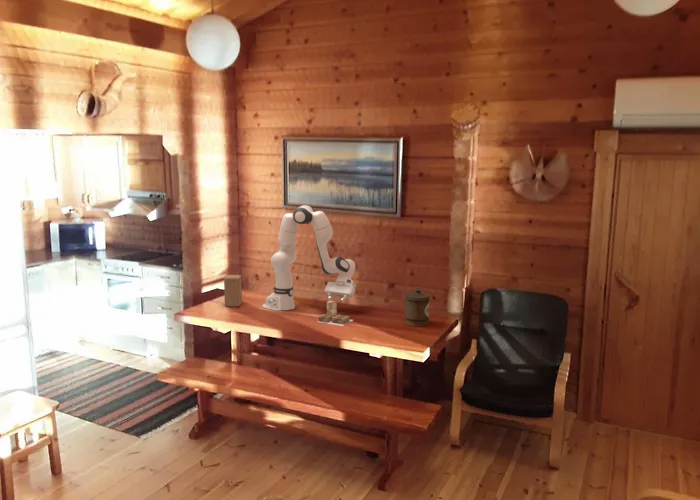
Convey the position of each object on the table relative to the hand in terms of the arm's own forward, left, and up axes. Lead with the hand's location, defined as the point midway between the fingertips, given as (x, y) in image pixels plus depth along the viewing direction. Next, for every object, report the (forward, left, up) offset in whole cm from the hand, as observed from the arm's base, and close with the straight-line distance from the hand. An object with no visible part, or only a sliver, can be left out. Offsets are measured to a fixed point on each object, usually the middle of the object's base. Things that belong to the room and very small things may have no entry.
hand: (335, 300), depth 380 cm
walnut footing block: (+2, -17, -8) cm, 19 cm away
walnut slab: (+12, -15, -8) cm, 21 cm away
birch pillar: (0, -5, -10) cm, 11 cm away
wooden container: (+52, +9, -10) cm, 54 cm away
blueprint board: (+8, -15, -10) cm, 19 cm away
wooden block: (-72, -13, -10) cm, 74 cm away
